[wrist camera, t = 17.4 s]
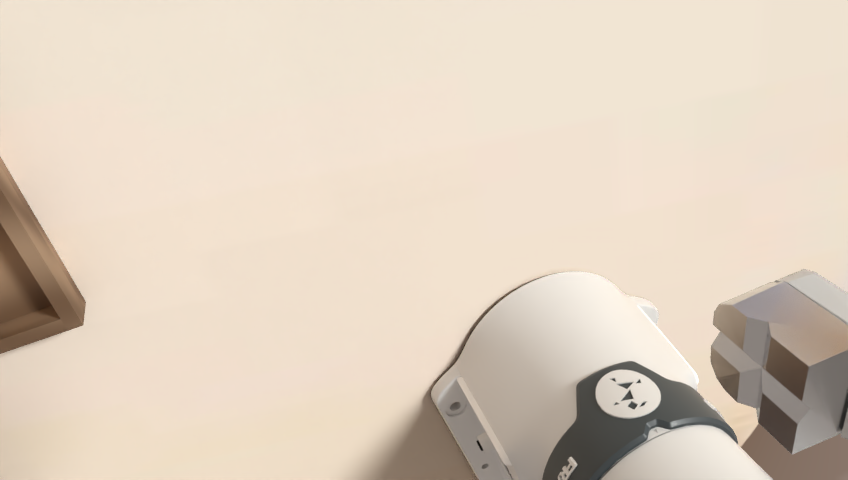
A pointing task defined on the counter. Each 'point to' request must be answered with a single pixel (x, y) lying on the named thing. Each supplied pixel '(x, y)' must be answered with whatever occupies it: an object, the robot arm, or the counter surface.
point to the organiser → (31, 276)
